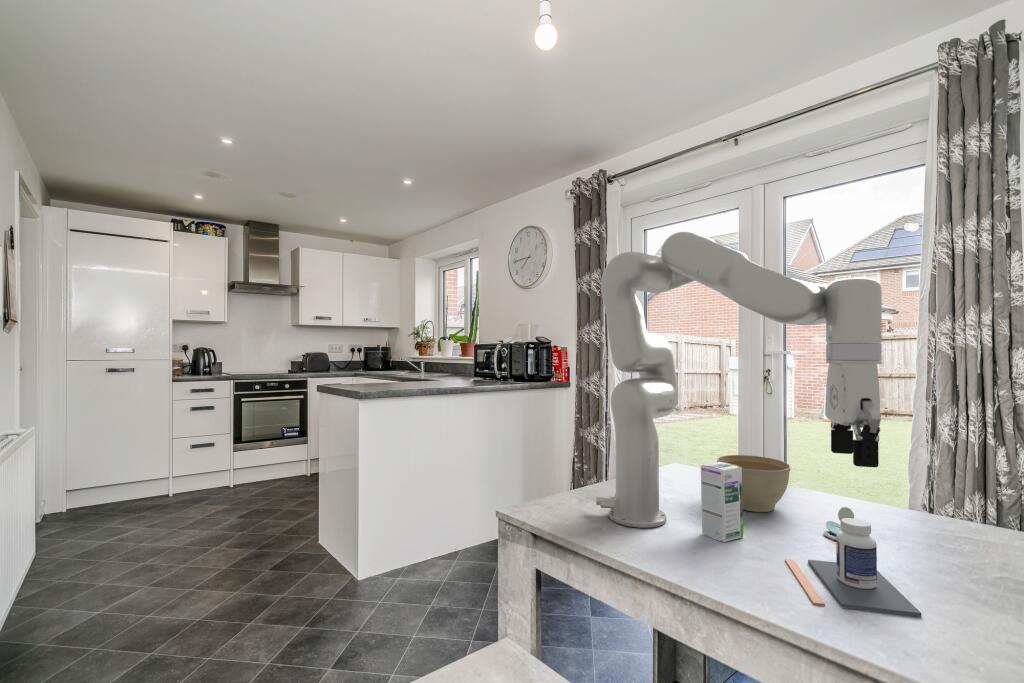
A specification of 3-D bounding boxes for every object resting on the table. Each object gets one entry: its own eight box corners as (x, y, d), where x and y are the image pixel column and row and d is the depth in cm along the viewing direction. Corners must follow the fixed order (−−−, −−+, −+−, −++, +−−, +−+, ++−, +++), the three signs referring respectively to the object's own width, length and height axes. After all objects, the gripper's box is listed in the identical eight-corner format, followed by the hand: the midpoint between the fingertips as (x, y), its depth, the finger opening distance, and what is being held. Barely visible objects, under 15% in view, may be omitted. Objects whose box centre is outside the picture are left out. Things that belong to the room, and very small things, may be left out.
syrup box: (724, 543, 98) (723, 469, 99) (700, 533, 104) (700, 463, 104) (743, 538, 101) (743, 466, 101) (719, 528, 106) (719, 460, 106)
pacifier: (852, 548, 96) (871, 542, 99) (851, 516, 96) (870, 511, 99) (815, 535, 103) (834, 530, 105) (814, 505, 103) (833, 501, 105)
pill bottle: (885, 588, 79) (885, 526, 79) (857, 592, 77) (856, 529, 78) (855, 573, 84) (855, 515, 84) (828, 576, 83) (828, 517, 83)
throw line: (813, 604, 75) (813, 602, 75) (785, 560, 90) (785, 558, 90) (824, 605, 74) (824, 603, 74) (794, 561, 90) (794, 559, 90)
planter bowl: (717, 512, 117) (716, 466, 117) (717, 494, 132) (717, 452, 132) (795, 521, 110) (794, 472, 111) (786, 501, 125) (786, 457, 125)
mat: (841, 607, 74) (841, 603, 74) (808, 562, 89) (808, 559, 89) (921, 617, 71) (921, 613, 71) (872, 569, 87) (872, 565, 87)
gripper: (810, 353, 91) (810, 447, 91) (847, 355, 74) (847, 470, 74) (858, 353, 89) (858, 450, 89) (906, 355, 72) (906, 474, 72)
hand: (853, 459), depth 81 cm, fingers open, 9 cm apart
